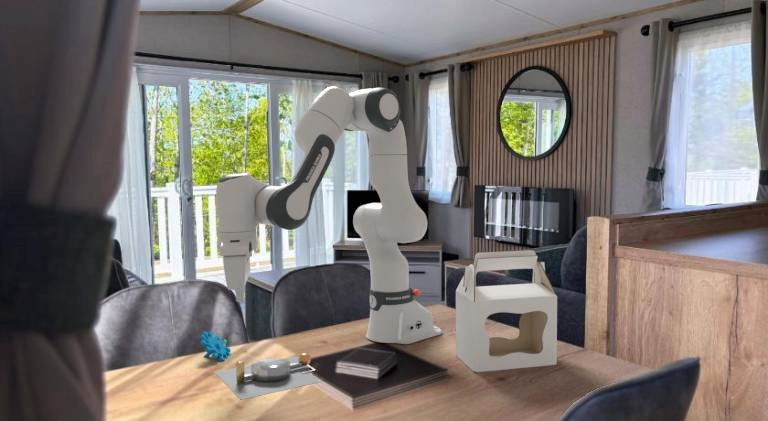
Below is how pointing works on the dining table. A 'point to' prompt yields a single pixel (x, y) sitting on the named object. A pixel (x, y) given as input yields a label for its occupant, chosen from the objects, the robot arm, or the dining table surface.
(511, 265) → the gable box
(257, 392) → the grey square plate
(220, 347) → the gear
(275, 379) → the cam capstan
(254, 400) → the dining table surface
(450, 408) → the dining table surface
